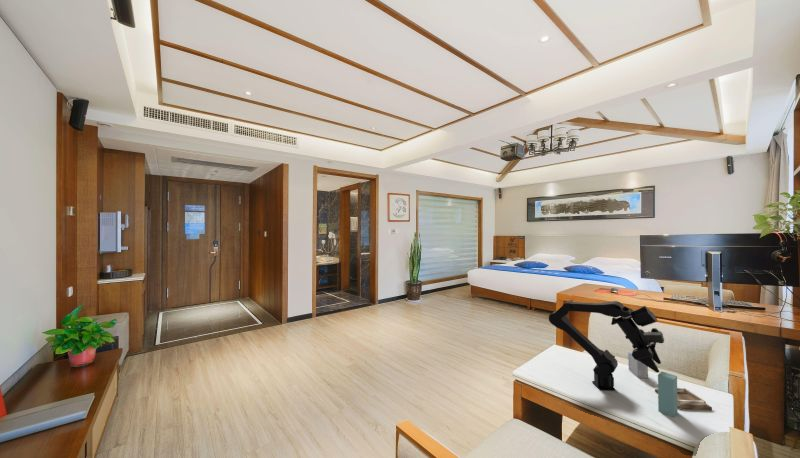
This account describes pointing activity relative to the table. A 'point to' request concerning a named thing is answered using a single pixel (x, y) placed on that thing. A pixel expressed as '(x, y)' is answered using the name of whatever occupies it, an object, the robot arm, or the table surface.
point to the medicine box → (637, 367)
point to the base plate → (689, 400)
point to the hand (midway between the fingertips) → (659, 367)
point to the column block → (667, 394)
